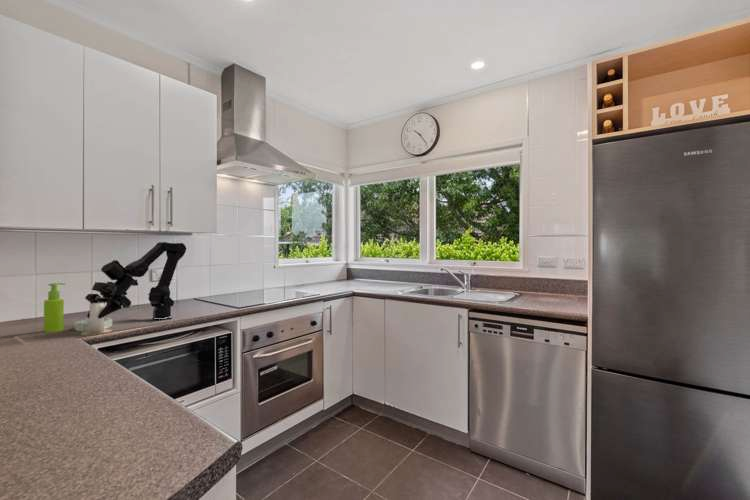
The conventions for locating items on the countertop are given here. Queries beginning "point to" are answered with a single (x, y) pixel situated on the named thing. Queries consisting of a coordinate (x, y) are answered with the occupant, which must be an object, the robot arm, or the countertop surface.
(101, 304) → the white dome-topped cylinder
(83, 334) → the cork mat
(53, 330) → the soap dispenser
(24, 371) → the countertop surface
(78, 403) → the countertop surface
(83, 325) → the bowl
